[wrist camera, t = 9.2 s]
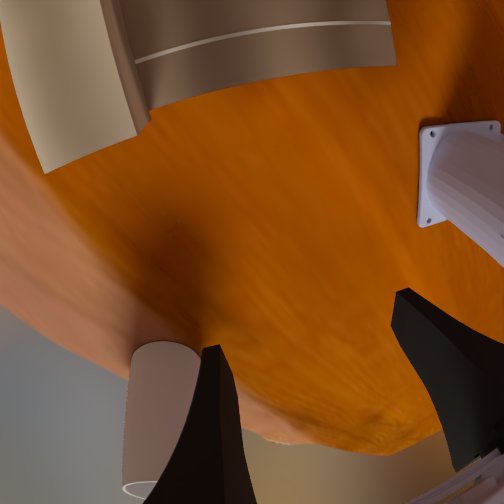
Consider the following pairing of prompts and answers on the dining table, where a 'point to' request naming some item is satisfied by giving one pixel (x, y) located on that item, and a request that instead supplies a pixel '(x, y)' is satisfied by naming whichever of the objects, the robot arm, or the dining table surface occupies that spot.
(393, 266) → the dining table surface
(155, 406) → the mug
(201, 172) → the dining table surface
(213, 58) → the plank
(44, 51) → the stepped beige block
